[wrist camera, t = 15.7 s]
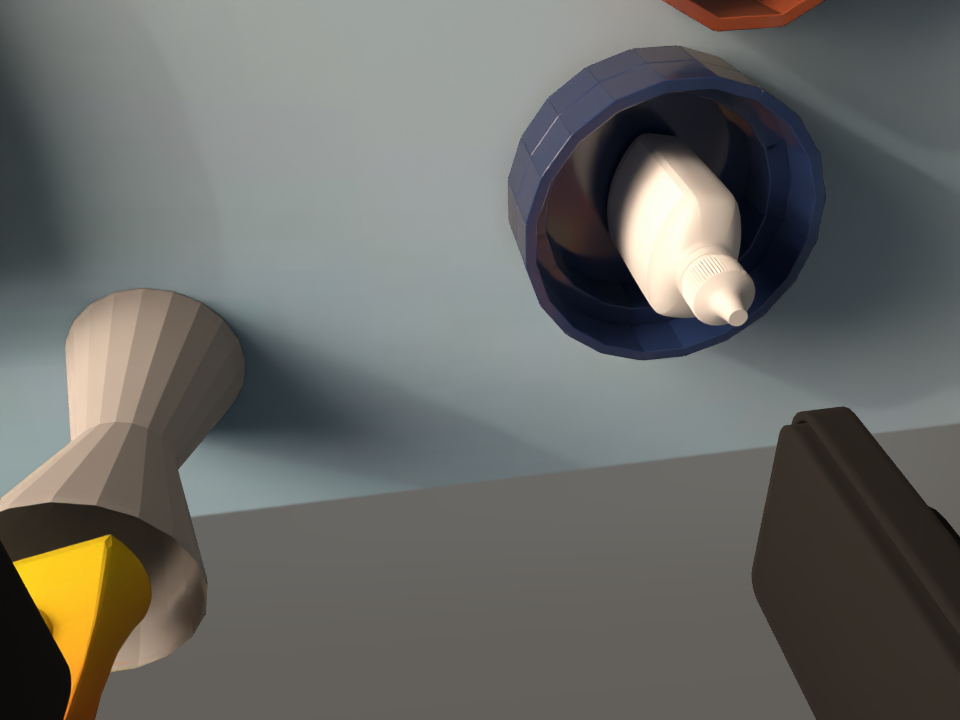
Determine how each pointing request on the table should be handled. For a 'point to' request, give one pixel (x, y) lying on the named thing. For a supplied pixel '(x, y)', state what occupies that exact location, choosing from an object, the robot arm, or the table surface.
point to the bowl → (591, 167)
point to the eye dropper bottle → (679, 232)
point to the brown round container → (743, 12)
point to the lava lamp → (124, 486)
